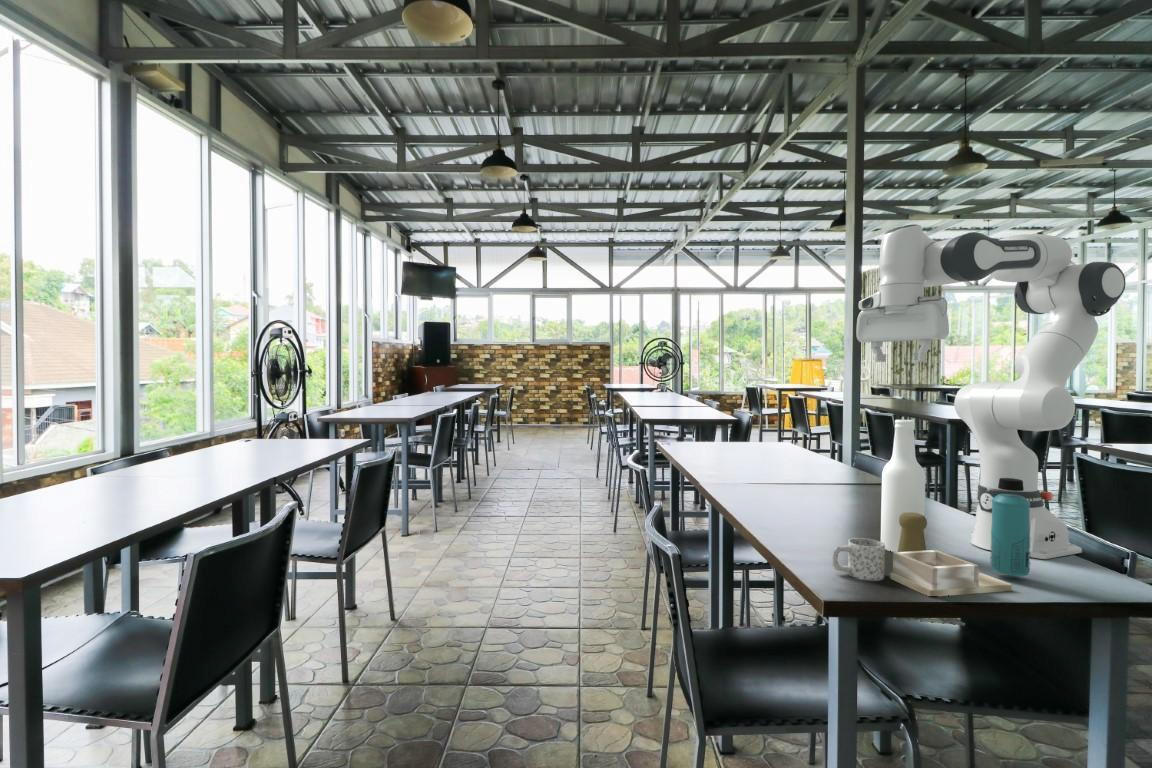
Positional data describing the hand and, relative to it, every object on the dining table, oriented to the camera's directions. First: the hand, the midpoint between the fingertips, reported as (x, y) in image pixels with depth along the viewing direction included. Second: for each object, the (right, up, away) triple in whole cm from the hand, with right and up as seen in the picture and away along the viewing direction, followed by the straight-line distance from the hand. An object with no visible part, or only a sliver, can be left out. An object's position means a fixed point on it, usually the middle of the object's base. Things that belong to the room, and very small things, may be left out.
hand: (899, 361), depth 134 cm
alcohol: (+4, -44, +6) cm, 44 cm away
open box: (0, -44, -17) cm, 47 cm away
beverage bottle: (+15, -44, -13) cm, 48 cm away
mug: (-15, -44, -12) cm, 48 cm away
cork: (0, -44, -5) cm, 44 cm away
